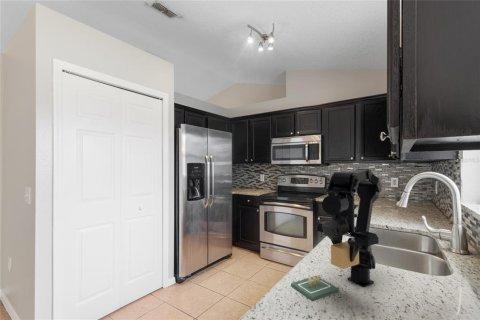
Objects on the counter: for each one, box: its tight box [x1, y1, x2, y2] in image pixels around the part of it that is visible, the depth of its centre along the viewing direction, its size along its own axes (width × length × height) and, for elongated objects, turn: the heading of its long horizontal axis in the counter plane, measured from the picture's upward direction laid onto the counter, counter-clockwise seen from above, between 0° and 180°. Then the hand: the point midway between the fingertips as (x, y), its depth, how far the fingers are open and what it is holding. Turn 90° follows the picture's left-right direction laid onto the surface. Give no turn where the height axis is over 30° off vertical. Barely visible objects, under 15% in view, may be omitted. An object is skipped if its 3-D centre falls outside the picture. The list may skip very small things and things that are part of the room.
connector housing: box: [330, 240, 359, 270], centre depth 75 cm, size 8×4×6 cm, turn 120°
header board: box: [290, 274, 339, 302], centre depth 79 cm, size 12×10×4 cm
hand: (344, 259), depth 75 cm, fingers closed on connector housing, 4 cm apart
